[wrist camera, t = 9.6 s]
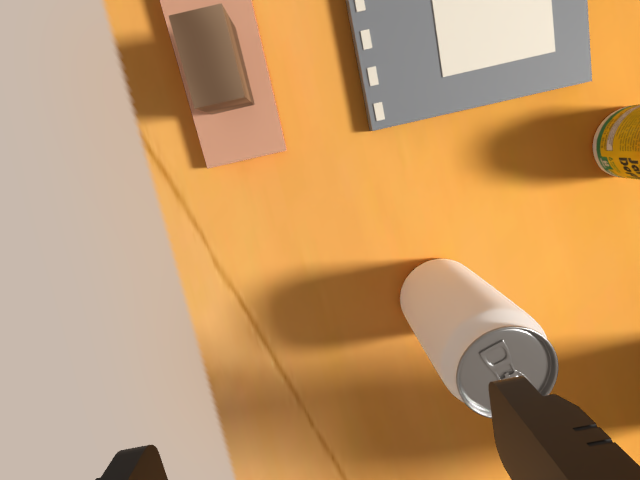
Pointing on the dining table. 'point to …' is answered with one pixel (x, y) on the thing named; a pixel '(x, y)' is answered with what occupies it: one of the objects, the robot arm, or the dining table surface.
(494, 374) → the can
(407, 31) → the grey slab
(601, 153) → the supplement bottle
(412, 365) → the dining table surface
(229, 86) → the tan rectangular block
